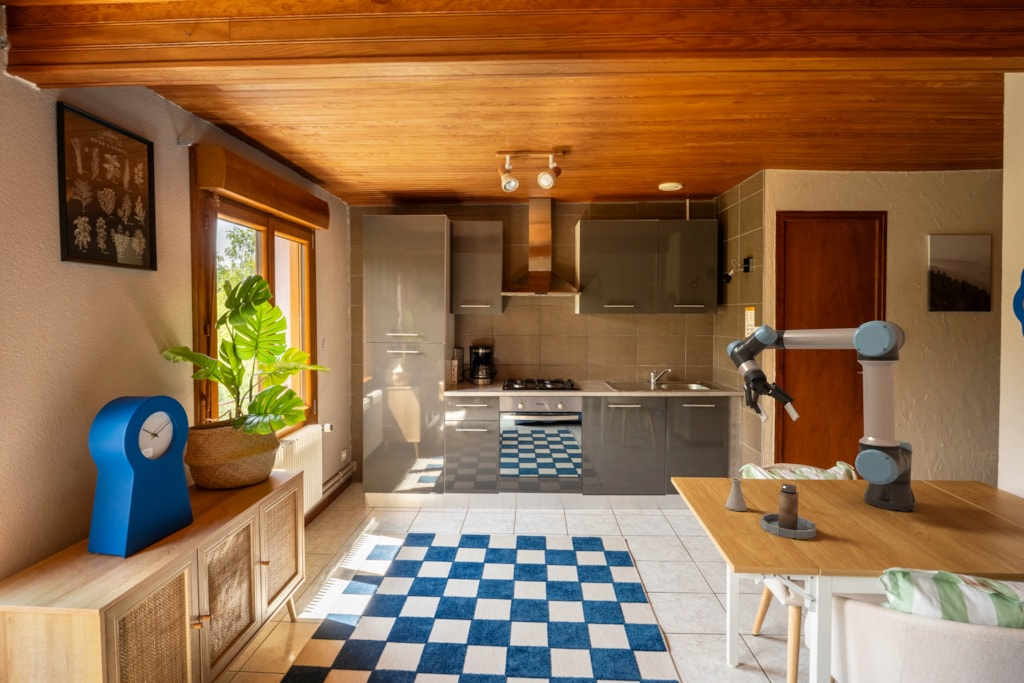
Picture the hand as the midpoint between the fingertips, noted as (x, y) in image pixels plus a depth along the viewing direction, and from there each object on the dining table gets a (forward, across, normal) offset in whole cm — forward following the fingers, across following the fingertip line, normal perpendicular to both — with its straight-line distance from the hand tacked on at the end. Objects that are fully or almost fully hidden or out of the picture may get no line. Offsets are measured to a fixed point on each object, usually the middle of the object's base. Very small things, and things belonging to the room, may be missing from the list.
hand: (781, 419), depth 195 cm
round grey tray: (+39, +22, -2) cm, 44 cm away
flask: (+24, +24, -16) cm, 38 cm away
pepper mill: (+38, +22, -1) cm, 44 cm away
